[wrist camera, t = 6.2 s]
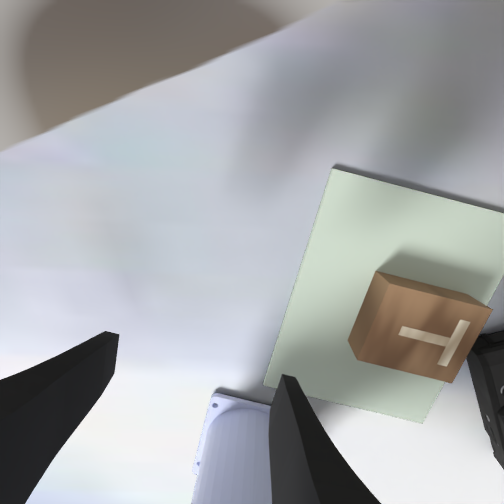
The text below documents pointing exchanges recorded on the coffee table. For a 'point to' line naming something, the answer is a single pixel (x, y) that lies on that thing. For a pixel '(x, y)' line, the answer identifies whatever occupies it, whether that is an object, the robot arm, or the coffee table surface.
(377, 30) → the coffee table surface
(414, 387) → the mat
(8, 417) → the robot arm
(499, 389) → the film camera
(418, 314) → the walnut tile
